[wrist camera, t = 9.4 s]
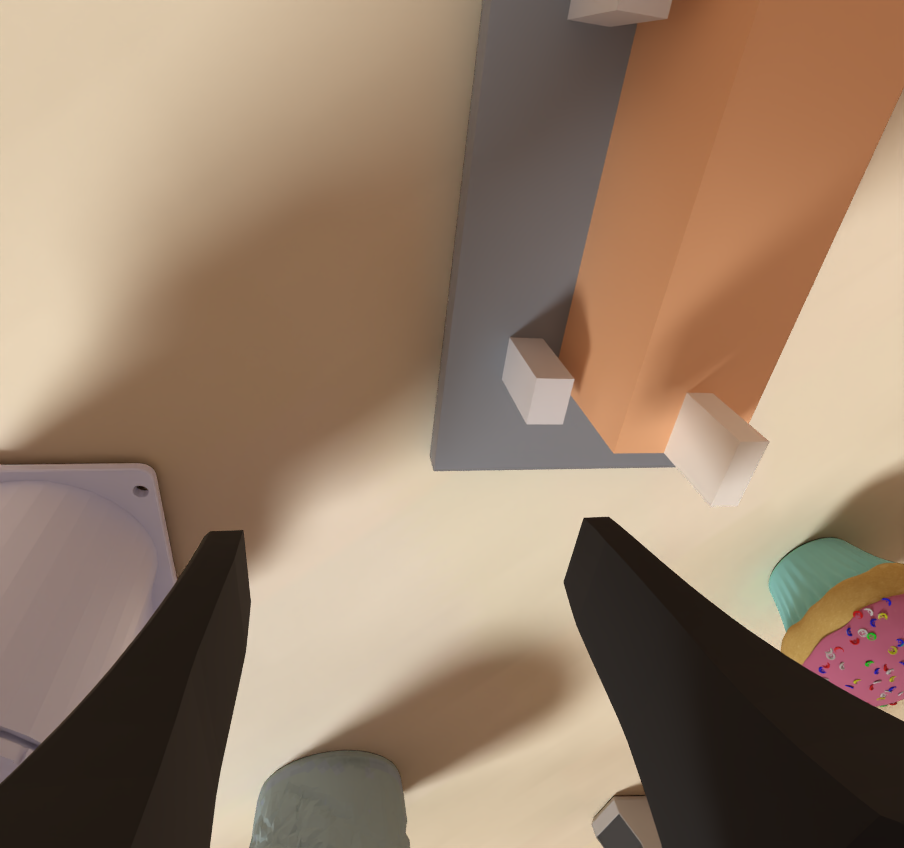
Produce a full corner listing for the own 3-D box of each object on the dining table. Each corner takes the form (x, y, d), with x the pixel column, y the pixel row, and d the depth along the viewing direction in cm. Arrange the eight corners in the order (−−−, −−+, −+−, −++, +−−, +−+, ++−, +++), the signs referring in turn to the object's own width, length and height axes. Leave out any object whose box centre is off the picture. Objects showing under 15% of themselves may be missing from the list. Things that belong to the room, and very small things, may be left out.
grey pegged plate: (696, 453, 25) (752, 512, 21) (429, 456, 22) (446, 524, 19) (961, -182, 14) (1149, -257, 11) (518, -315, 12) (592, -464, 9)
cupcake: (900, 550, 32) (1159, 770, 22) (777, 636, 34) (958, 868, 24) (840, 485, 28) (1124, 718, 18) (704, 588, 30) (887, 842, 20)
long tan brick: (654, 375, 21) (790, 504, 15) (554, 373, 20) (654, 508, 14) (794, -33, 15) (1127, -104, 9) (657, -61, 14) (918, -163, 8)
